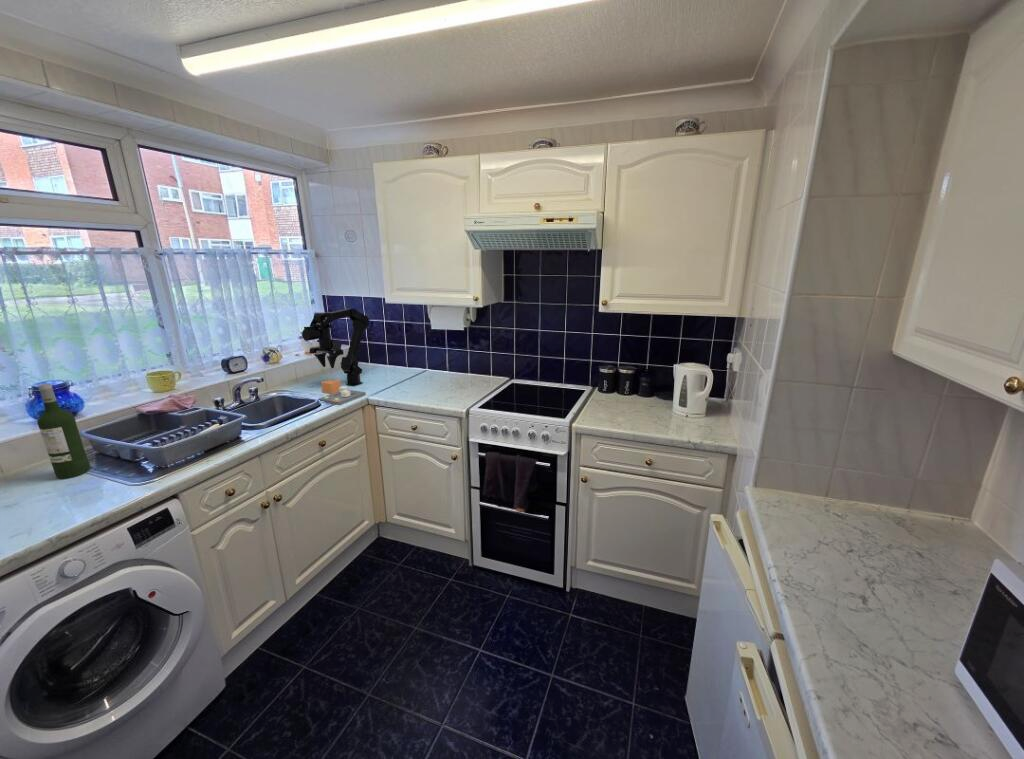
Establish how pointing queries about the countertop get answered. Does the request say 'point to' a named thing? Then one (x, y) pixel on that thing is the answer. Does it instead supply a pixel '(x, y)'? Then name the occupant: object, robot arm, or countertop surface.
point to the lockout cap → (330, 386)
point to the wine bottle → (61, 437)
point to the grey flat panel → (339, 400)
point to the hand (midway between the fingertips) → (328, 367)
